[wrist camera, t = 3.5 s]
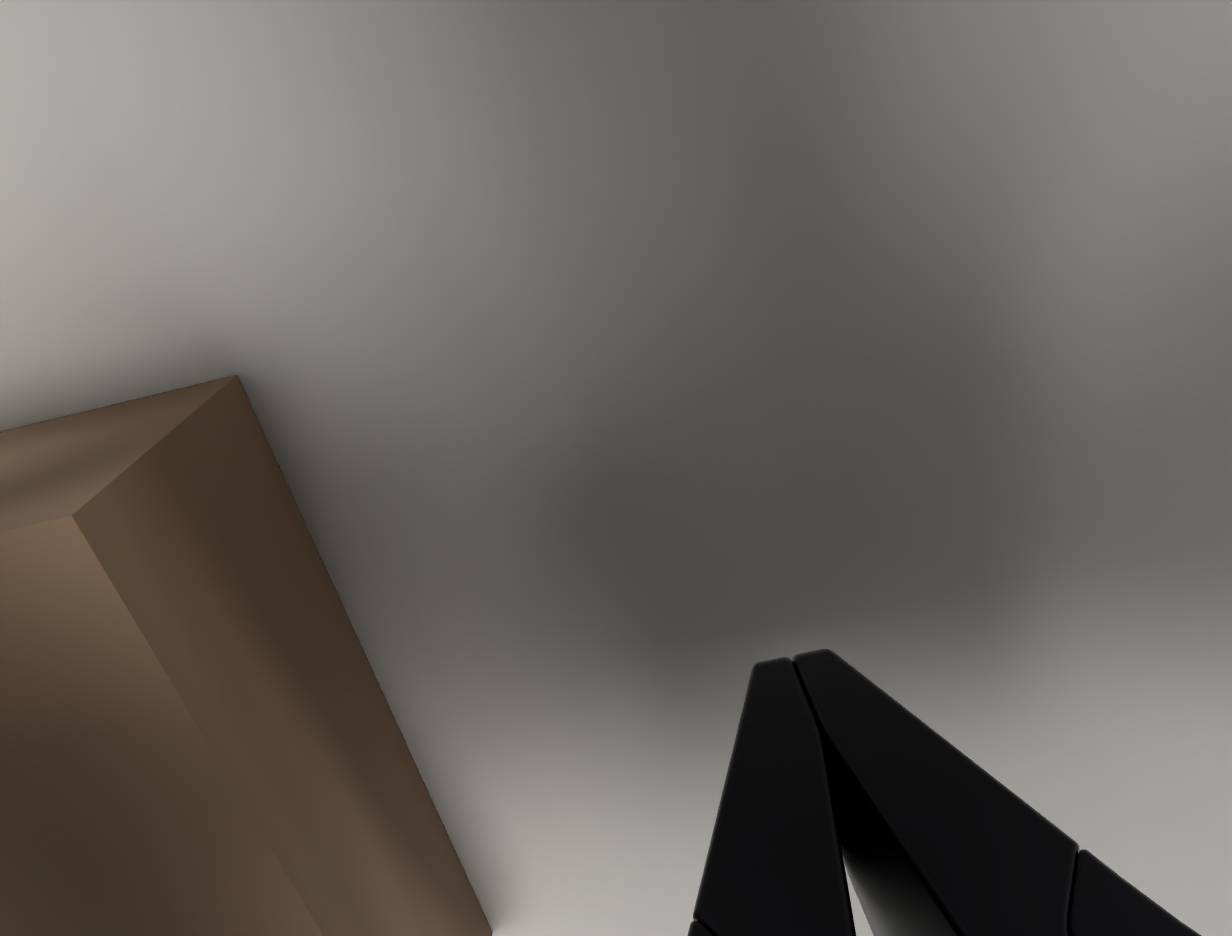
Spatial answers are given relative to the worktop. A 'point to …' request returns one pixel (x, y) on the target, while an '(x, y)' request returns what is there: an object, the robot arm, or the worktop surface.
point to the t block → (194, 698)
